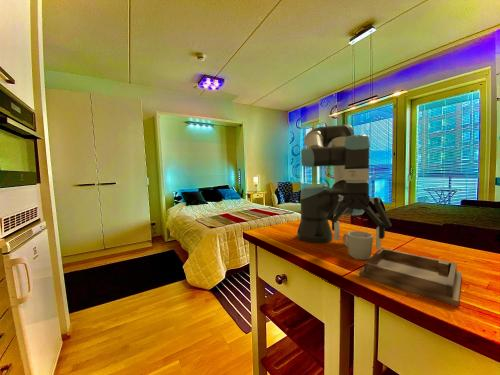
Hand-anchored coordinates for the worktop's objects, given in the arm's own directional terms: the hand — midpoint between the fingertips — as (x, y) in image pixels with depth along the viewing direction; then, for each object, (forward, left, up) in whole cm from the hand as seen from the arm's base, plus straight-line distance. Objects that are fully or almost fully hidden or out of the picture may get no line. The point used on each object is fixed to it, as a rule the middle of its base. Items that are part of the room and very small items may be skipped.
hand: (356, 243), depth 74 cm
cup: (0, 0, -5) cm, 5 cm away
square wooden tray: (+16, -5, -4) cm, 17 cm away
